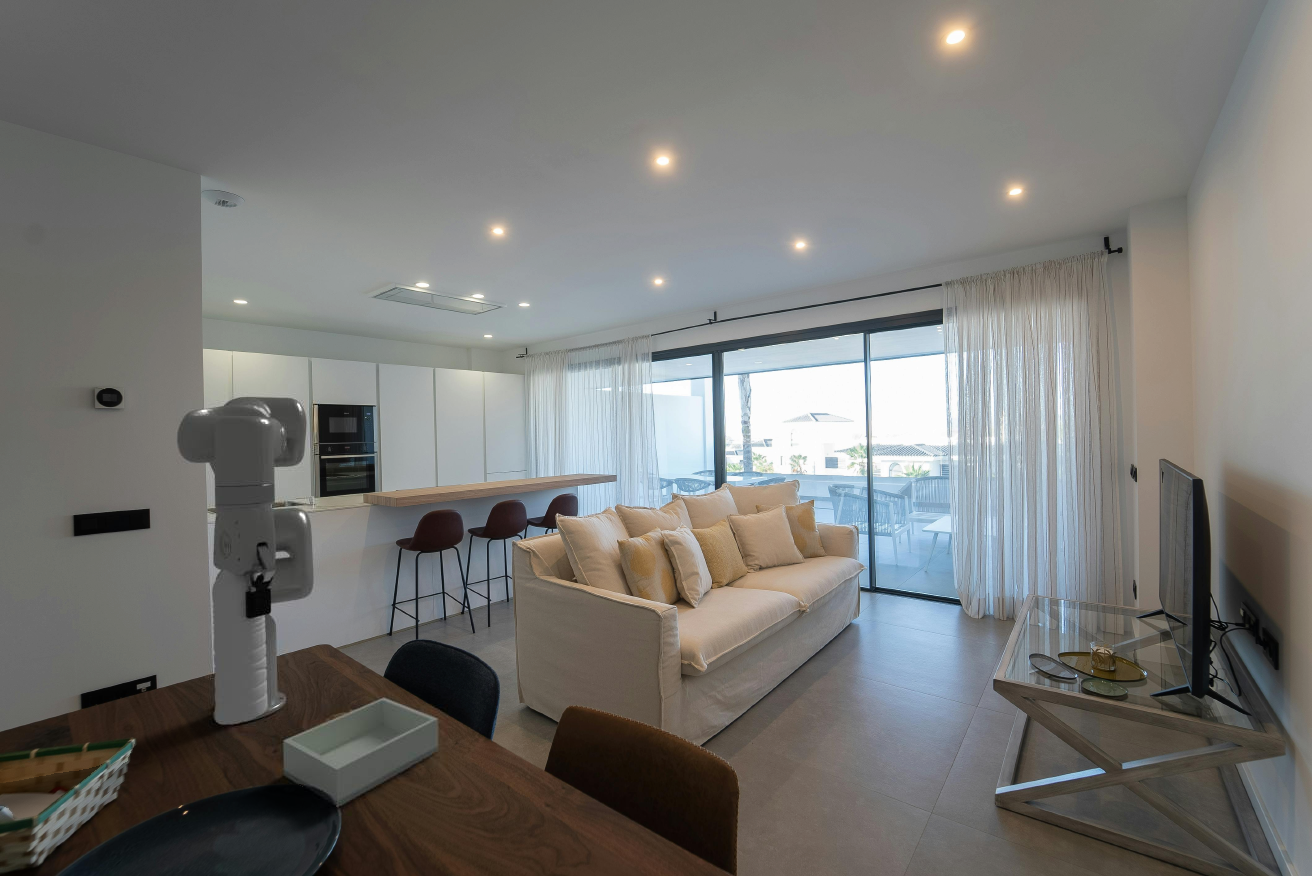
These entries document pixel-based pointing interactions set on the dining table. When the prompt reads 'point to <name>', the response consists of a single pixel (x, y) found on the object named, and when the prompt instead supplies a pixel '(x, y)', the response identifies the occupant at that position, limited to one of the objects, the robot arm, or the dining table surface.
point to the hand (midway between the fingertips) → (247, 611)
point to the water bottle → (237, 653)
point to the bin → (360, 749)
